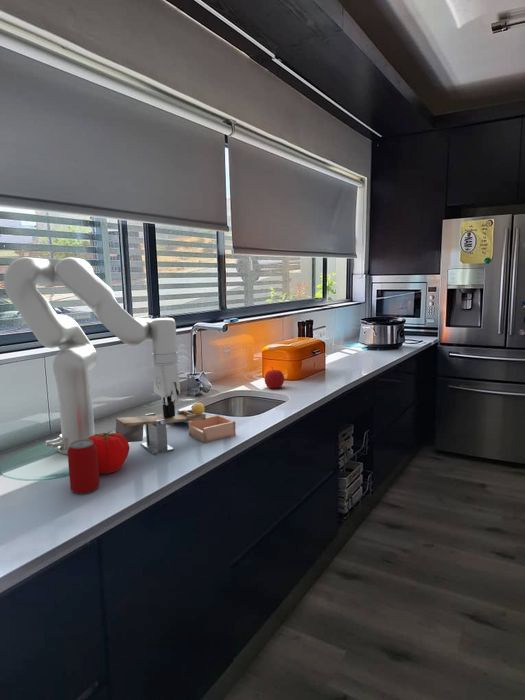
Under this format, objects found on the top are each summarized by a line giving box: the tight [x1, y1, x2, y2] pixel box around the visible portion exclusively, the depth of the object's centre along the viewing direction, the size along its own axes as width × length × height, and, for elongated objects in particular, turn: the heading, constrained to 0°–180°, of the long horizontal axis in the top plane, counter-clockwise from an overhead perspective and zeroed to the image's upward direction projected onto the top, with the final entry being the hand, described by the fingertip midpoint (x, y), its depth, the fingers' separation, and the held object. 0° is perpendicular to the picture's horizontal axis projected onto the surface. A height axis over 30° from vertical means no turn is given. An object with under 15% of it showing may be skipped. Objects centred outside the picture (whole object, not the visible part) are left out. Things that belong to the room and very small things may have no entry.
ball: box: [192, 402, 205, 414], centre depth 152 cm, size 4×4×4 cm
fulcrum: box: [140, 412, 175, 456], centre depth 145 cm, size 6×11×10 cm, turn 36°
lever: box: [115, 409, 207, 443], centre depth 146 cm, size 26×7×7 cm, turn 126°
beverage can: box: [67, 439, 100, 495], centre depth 116 cm, size 7×7×12 cm
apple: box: [264, 367, 285, 389], centre depth 221 cm, size 9×9×10 cm
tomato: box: [88, 430, 130, 475], centre depth 128 cm, size 13×12×11 cm
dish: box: [188, 414, 237, 443], centre depth 156 cm, size 12×11×4 cm
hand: (169, 416), depth 147 cm, fingers closed
